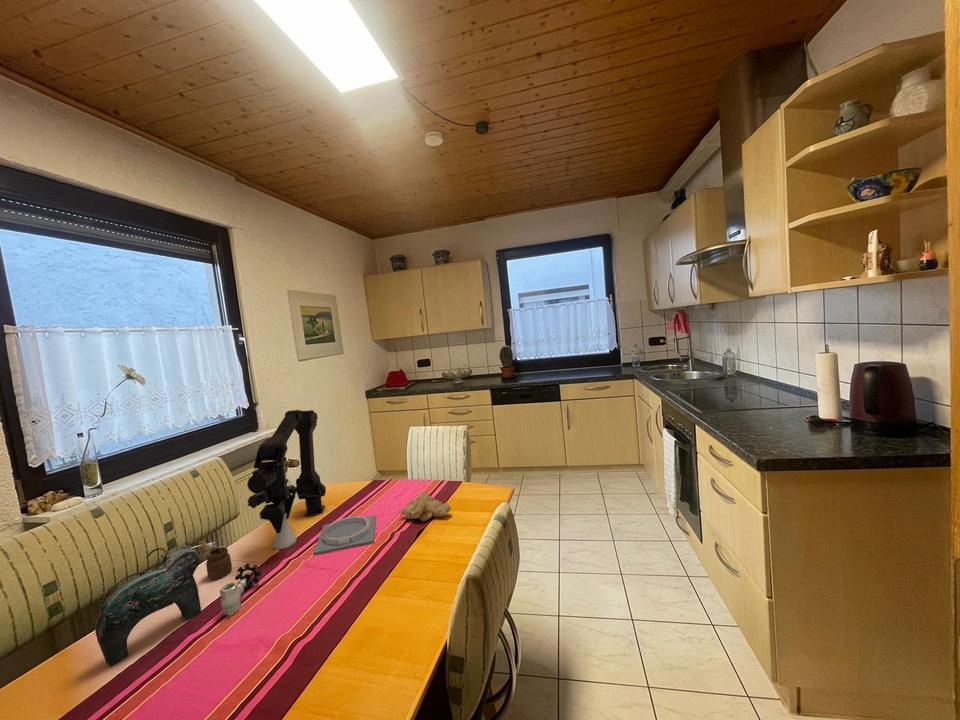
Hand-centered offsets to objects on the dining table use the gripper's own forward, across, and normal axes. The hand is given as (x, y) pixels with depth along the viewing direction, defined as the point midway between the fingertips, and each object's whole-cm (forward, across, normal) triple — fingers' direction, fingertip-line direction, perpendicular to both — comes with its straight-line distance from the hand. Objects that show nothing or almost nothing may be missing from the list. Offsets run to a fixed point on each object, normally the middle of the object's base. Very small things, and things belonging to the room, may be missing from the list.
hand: (282, 525), depth 127 cm
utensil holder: (+6, +11, -15) cm, 20 cm away
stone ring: (+6, +2, +20) cm, 21 cm away
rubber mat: (+6, +2, +20) cm, 21 cm away
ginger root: (+7, -1, +46) cm, 46 cm away
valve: (+6, +26, -4) cm, 28 cm away
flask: (+6, 0, 0) cm, 7 cm away
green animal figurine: (+6, +33, -19) cm, 39 cm away
